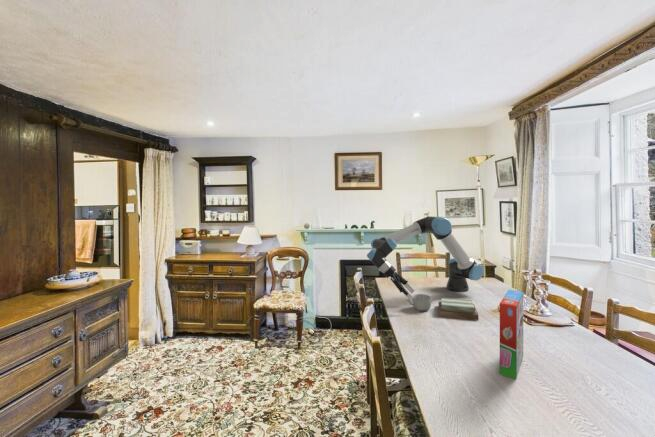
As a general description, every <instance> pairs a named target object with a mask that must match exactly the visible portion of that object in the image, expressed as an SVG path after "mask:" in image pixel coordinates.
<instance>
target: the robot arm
mask: <svg viewBox="0 0 655 437" xmlns="http://www.w3.org/2000/svg"><path fill="white" fill-rule="evenodd" d="M452 232H453V229H452V223H451V221H450V220H449V219H448V218H446V217H443V216H426V217H423V218H420V219H418V220H416V221H413V222H412V224H410V225H408V226H406V227H403V228H402V229H399V230H396V231H394V232H392V233H390V234H387V235H385V236H383V237H380V238H374V239H372V240H371V242H370V246H371V248H372V249H371V250H370V251H368V253H367V254H366V257H367V258H368V259H369V261H370V263H372V264H373V265H374V266H375V267H376V268H377V269H378V271H379V272H381V273H383V275H384V276H385V277H386V278H387V279H388V278H390V281H391V282H392V283H393V284H394V285H395V287H396V288H397V290H398V291H399V292H400V293H402V294H403V295H404V296H405V297H406V298H408V299H409V300H410V301H411V300H412V298H413V295H412V294H413V293H414V292H415V291H416V290H415V289H414V287H412V286H411V285H410V284H409V281H408V280H406V279H405V278H404V277H402V275H400V274H399V273H398V272H397V269H396V268H395V267H394V266H393V265H392V264H391V263H390V262H389V261H388V260H387V259H386V258H387V257H388V256H389V255H390V254H391V253H392V252H393V251H394V250H395V249H396V248H397V244H398V243H401V242H403V241H405V240H407V239H410V238H411V237H414V236H416V235H418V236H419V235H420V236H421V235H422V234H432V235H433V236H434V237H435V239H436V240H438V241H440V242H441V243H442V244H443V246H444V247H445V249H446V250H447V251H448V253H449V254H450V255H451V256H452V258H450V259H449V260H448V280H447V282H446V289H447V290H449V291H453V292H468V291H469V288H470V287H469V283H468V281H467V279H468V280H471V281H479V280H481V279H482V277H483V275H484V272H485V270H484V267H483V265H482V264H480V263H477V262H476V261H475V260H474V258H473V257H472V256H469V255H468V254H467V253H466V250H464V248H463V247H462V246H461V244H460V243H459V241H458V240H457V239H456V237H455V236H454V235H453V233H452Z"/></svg>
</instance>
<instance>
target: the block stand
mask: <svg viewBox="0 0 655 437" xmlns="http://www.w3.org/2000/svg"><path fill="white" fill-rule="evenodd" d="M438 316H439V317H441V318H450V319H461V320H473V321H479V312H478V311H477V308H476V305H475V303H474V302H473V300H472V299H461V298H449V297H441V298H440V301H438Z"/></svg>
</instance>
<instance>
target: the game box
mask: <svg viewBox="0 0 655 437" xmlns="http://www.w3.org/2000/svg"><path fill="white" fill-rule="evenodd" d="M523 358H524V291H521V290H513V289H508V290H507V291H506V293H505V294H504V296H503V298H502V299H501V301H500V303H499V374H500V375H502V376H505V377H508V378H511V379H514V380H517V378H518V374H519V371H520V367H521V364H522V361H523Z"/></svg>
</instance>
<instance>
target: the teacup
mask: <svg viewBox="0 0 655 437" xmlns="http://www.w3.org/2000/svg"><path fill="white" fill-rule="evenodd" d="M412 296H413V298H412V299H411V300H412V302H411V300H409V299H408V300H407V302H408V303H409V305H411V306H412V307H413V308H415V309H416V310H417V311H420V312H426V311H428V310H429V309H431V307H432V297H431V296H430V295H429V294H424V293H415V294H413V295H412Z"/></svg>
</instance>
